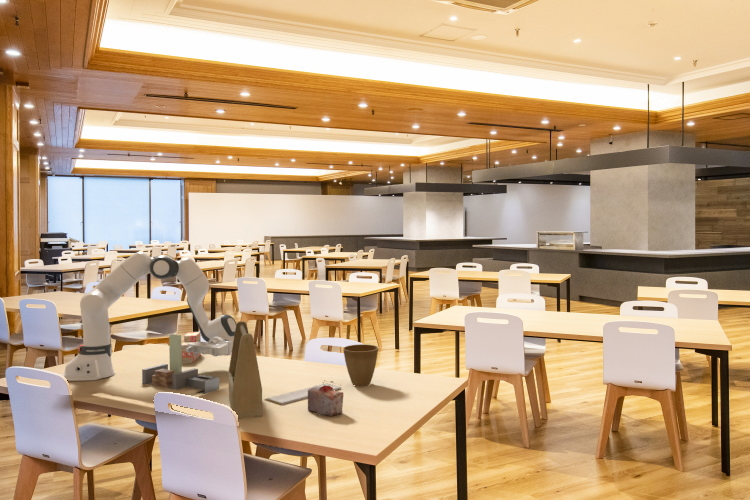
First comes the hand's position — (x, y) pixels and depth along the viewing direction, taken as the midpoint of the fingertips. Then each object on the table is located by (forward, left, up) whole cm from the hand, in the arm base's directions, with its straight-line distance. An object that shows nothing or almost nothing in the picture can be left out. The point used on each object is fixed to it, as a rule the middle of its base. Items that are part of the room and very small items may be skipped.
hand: (194, 351), depth 265 cm
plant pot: (+68, -29, -13) cm, 75 cm away
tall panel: (-8, -8, -11) cm, 15 cm away
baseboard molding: (+42, -36, -13) cm, 57 cm away
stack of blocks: (-3, +45, -13) cm, 46 cm away
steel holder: (+4, -19, -12) cm, 23 cm away
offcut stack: (-12, -12, -11) cm, 20 cm away
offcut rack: (-10, -10, -12) cm, 19 cm away
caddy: (+19, -47, -13) cm, 52 cm away
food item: (+46, -63, -13) cm, 79 cm away
